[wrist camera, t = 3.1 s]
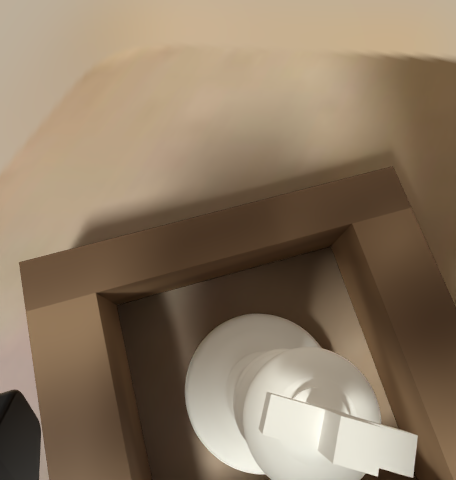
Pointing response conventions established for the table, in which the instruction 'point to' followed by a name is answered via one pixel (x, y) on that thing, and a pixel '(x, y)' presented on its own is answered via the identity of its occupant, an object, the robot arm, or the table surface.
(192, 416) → the chess piece
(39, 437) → the robot arm
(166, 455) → the table surface
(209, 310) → the table surface
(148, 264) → the brown slab with hole
